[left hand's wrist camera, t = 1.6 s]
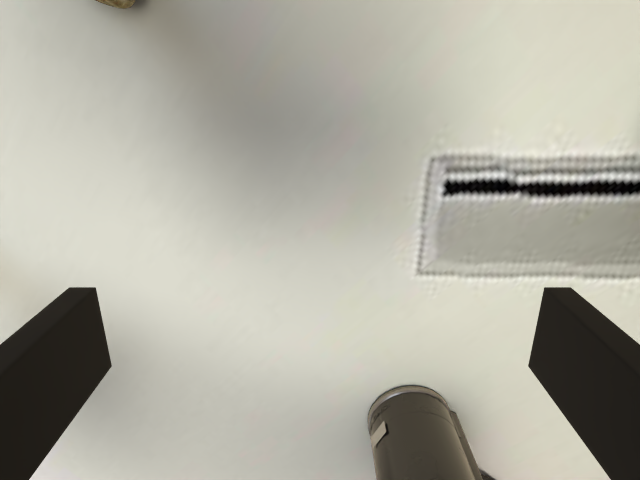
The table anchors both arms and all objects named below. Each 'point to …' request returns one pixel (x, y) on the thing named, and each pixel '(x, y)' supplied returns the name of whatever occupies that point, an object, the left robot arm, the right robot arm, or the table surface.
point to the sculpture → (118, 3)
